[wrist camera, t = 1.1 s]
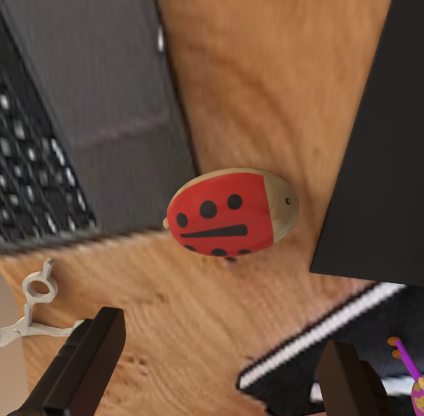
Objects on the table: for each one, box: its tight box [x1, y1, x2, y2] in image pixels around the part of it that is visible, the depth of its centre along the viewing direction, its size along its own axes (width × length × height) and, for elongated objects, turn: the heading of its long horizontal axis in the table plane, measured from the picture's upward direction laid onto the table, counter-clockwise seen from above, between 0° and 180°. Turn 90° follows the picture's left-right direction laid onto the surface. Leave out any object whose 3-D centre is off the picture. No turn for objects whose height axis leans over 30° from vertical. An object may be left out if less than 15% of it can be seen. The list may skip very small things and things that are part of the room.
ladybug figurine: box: [163, 168, 299, 257], centre depth 19 cm, size 7×10×4 cm
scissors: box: [0, 258, 84, 349], centre depth 29 cm, size 11×1×20 cm
